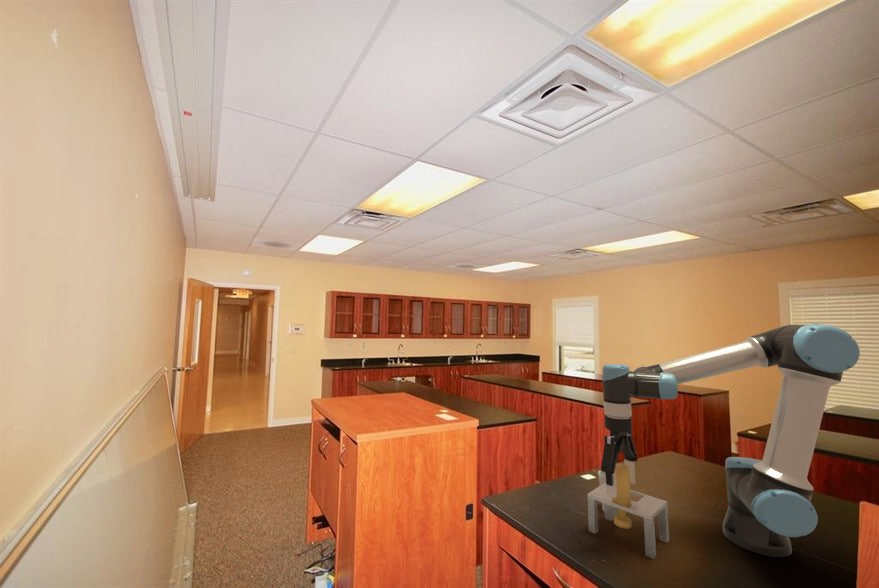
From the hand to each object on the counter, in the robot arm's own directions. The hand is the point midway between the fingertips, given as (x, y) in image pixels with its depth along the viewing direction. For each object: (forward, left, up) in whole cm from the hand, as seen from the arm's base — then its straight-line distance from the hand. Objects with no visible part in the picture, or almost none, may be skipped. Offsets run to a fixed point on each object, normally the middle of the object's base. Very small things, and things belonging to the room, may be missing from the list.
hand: (621, 489), depth 107 cm
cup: (+10, -15, -15) cm, 23 cm away
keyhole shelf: (0, -3, -14) cm, 15 cm away
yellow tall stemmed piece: (0, 0, -10) cm, 10 cm away
